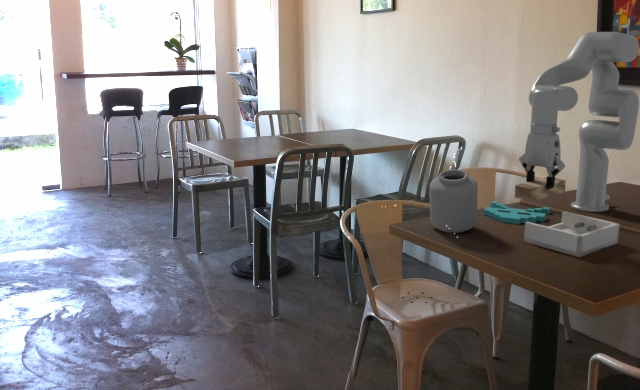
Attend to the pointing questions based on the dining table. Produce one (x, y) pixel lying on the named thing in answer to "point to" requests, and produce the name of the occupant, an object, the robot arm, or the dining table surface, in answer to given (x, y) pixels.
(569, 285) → the dining table surface
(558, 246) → the carcass
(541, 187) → the shelf board
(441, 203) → the jar
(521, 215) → the alien figure
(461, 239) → the dining table surface
